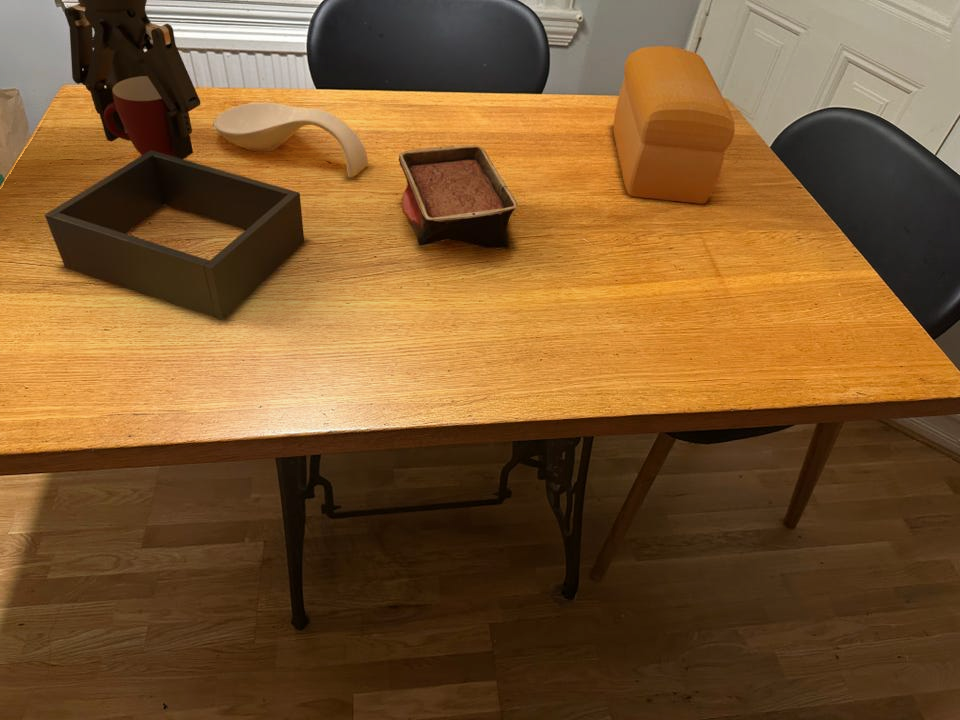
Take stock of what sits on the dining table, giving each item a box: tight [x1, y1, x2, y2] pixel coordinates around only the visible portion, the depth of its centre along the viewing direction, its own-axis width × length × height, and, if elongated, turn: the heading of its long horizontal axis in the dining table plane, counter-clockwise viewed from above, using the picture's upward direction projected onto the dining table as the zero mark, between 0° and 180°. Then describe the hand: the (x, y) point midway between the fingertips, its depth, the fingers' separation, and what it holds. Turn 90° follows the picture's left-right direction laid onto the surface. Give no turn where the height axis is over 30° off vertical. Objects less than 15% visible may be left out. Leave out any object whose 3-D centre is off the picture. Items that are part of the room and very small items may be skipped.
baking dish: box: [398, 144, 519, 249], centre depth 91 cm, size 14×18×10 cm
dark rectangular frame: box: [44, 150, 305, 321], centre depth 81 cm, size 21×17×7 cm
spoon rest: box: [213, 101, 369, 178], centre depth 101 cm, size 24×12×7 cm, turn 67°
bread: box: [612, 45, 736, 204], centre depth 107 cm, size 24×13×15 cm, turn 178°
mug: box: [104, 76, 177, 157], centre depth 93 cm, size 11×8×10 cm
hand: (150, 146), depth 95 cm, fingers closed on mug, 10 cm apart
